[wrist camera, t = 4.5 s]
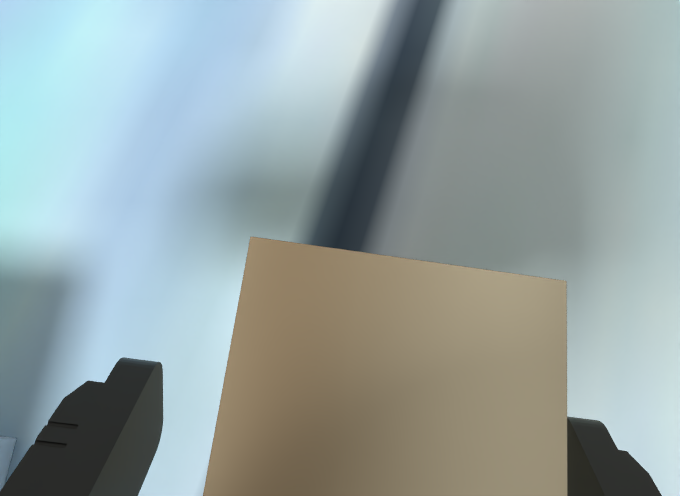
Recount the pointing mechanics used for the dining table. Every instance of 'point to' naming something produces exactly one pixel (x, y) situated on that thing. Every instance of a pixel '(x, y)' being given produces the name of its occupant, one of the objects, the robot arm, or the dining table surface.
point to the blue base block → (5, 457)
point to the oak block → (390, 379)
